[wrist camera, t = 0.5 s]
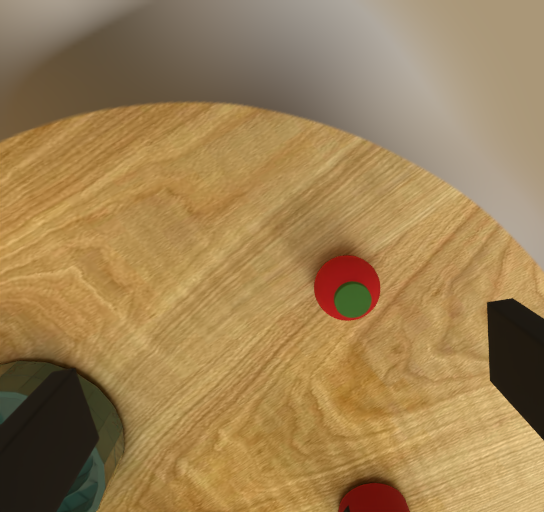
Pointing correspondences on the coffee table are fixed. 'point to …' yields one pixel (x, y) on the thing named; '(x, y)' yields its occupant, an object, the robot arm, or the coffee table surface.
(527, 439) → the coffee table surface
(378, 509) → the beverage can
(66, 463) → the robot arm
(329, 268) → the tomato
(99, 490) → the bowl
